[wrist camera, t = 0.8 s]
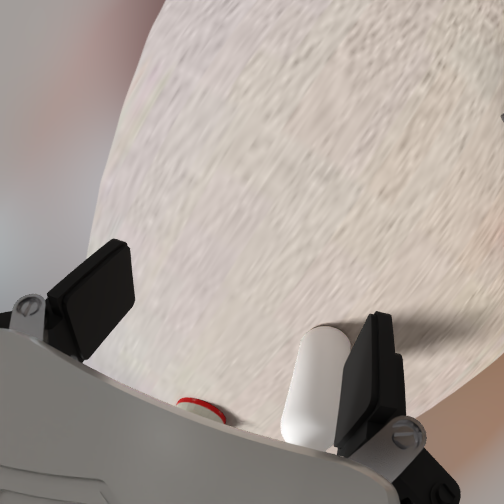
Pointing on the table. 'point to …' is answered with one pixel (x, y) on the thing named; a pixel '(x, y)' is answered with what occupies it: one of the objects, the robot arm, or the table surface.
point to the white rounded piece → (201, 409)
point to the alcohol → (316, 389)
